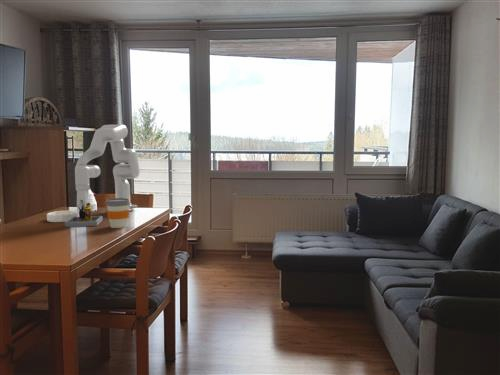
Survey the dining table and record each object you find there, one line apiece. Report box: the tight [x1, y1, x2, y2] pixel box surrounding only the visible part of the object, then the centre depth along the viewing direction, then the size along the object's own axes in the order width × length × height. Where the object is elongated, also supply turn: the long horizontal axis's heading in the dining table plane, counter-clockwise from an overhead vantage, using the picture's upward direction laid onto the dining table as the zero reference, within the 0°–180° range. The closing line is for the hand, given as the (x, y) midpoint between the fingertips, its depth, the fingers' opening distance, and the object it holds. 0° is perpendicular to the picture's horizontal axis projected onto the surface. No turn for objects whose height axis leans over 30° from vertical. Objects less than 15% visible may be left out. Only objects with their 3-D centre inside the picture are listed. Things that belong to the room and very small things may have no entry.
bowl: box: [46, 210, 79, 223], centre depth 254 cm, size 17×17×4 cm
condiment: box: [79, 203, 92, 222], centre depth 240 cm, size 7×8×12 cm
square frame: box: [64, 215, 104, 228], centre depth 241 cm, size 17×17×2 cm
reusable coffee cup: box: [105, 197, 131, 229], centre depth 231 cm, size 13×13×15 cm
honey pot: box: [76, 189, 98, 212], centre depth 286 cm, size 13×13×18 cm
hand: (84, 216), depth 240 cm, fingers open, 9 cm apart
